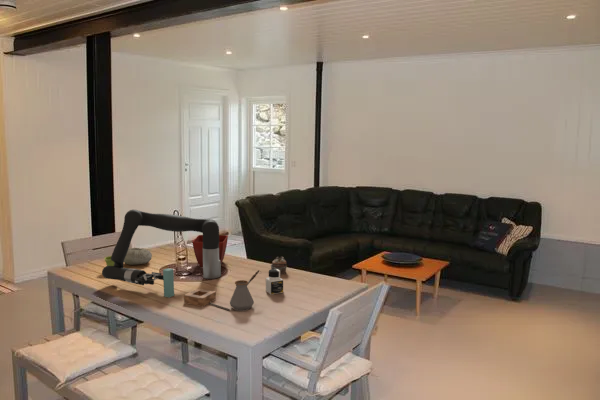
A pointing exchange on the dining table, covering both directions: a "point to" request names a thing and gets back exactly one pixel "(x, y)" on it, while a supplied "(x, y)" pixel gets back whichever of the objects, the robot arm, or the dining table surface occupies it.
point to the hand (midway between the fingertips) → (159, 280)
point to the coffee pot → (242, 295)
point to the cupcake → (279, 265)
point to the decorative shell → (137, 256)
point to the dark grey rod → (219, 306)
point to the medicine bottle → (274, 282)
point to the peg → (168, 282)
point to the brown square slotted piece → (199, 297)
